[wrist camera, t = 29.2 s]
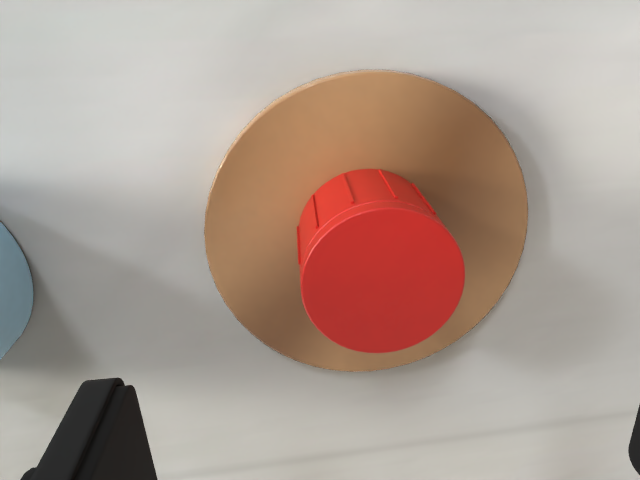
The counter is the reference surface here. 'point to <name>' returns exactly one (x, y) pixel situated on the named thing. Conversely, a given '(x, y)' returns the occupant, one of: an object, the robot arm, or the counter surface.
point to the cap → (376, 263)
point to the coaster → (353, 154)
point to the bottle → (13, 291)
